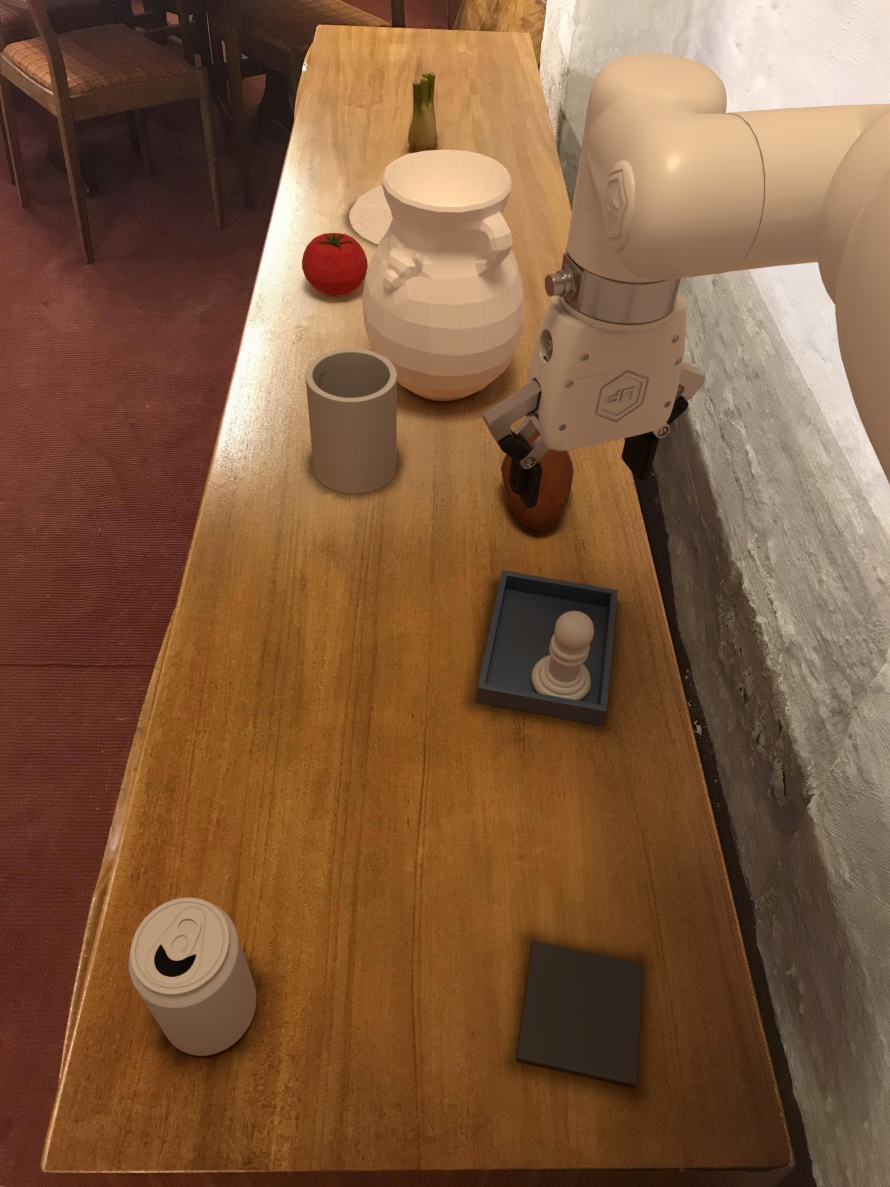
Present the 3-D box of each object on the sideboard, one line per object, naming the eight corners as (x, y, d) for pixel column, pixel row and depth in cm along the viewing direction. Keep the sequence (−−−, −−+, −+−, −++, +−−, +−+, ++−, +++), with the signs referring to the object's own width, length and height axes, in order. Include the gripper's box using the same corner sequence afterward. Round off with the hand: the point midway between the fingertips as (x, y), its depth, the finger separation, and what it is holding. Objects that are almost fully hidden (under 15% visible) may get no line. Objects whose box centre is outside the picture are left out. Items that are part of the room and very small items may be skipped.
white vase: (334, 372, 111) (321, 166, 92) (445, 321, 119) (455, 123, 101) (433, 448, 102) (442, 237, 83) (546, 388, 110) (577, 184, 92)
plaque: (424, 175, 147) (424, 166, 146) (507, 225, 138) (507, 216, 136) (323, 215, 139) (322, 205, 138) (404, 271, 129) (404, 262, 128)
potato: (499, 537, 93) (506, 479, 87) (496, 464, 101) (502, 406, 95) (572, 540, 93) (584, 482, 87) (564, 467, 101) (574, 409, 95)
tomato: (381, 286, 125) (380, 230, 119) (342, 313, 119) (339, 257, 113) (330, 266, 127) (327, 211, 121) (290, 292, 122) (285, 236, 116)
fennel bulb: (414, 160, 152) (416, 82, 143) (400, 148, 154) (400, 72, 145) (444, 153, 154) (447, 77, 145) (429, 142, 156) (431, 67, 148)
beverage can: (146, 1044, 60) (102, 984, 51) (187, 950, 64) (153, 879, 55) (236, 1070, 59) (208, 1014, 50) (271, 973, 63) (251, 905, 54)
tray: (602, 726, 78) (606, 711, 76) (475, 702, 79) (477, 687, 78) (613, 605, 87) (618, 589, 86) (500, 585, 89) (502, 569, 87)
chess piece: (589, 661, 82) (606, 596, 76) (591, 709, 79) (609, 646, 72) (530, 656, 82) (543, 591, 76) (530, 704, 79) (543, 641, 72)
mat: (635, 1087, 59) (637, 1085, 59) (515, 1060, 60) (516, 1058, 60) (641, 966, 65) (643, 963, 64) (531, 943, 65) (532, 940, 65)
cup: (395, 494, 97) (395, 403, 88) (310, 492, 96) (301, 400, 87) (397, 440, 103) (397, 349, 94) (317, 438, 102) (310, 347, 93)
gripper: (522, 334, 53) (497, 540, 66) (768, 288, 57) (700, 489, 70) (473, 271, 57) (459, 476, 70) (704, 234, 62) (651, 431, 75)
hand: (579, 482), depth 70 cm, fingers open, 9 cm apart
